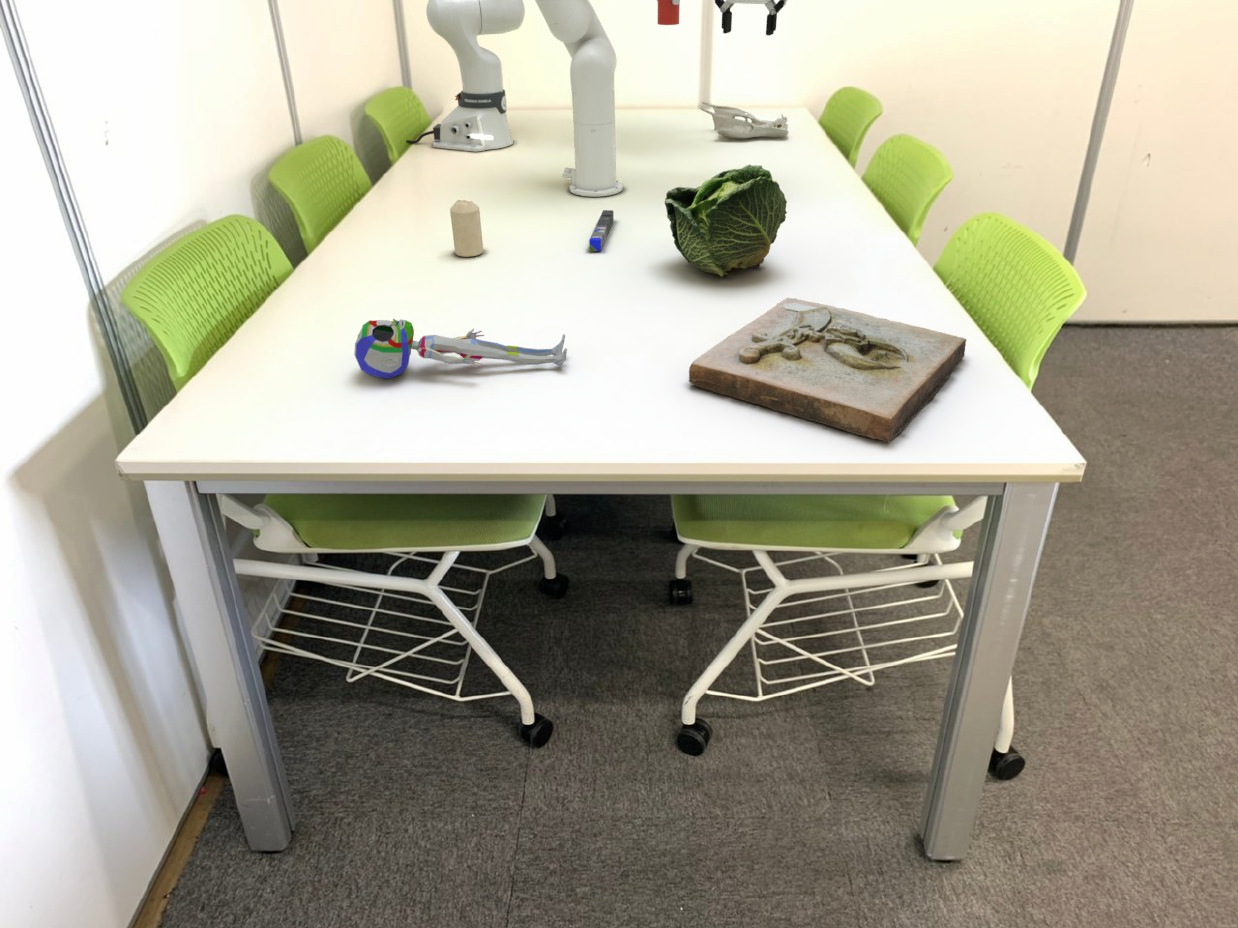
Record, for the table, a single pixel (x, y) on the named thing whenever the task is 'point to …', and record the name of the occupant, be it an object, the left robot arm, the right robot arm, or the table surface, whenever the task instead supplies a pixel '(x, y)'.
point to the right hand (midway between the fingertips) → (748, 33)
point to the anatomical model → (744, 123)
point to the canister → (668, 13)
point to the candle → (466, 228)
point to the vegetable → (727, 219)
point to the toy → (435, 349)
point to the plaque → (832, 366)
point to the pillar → (601, 230)
